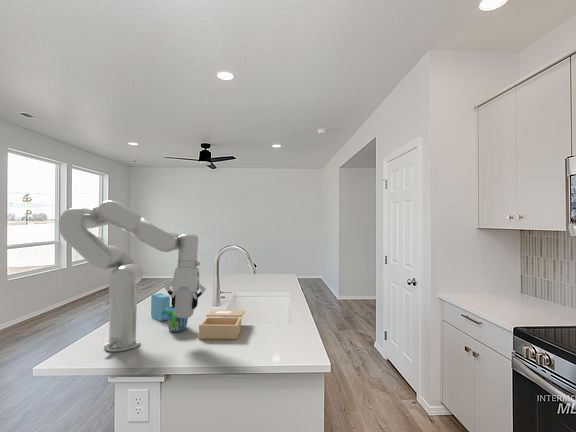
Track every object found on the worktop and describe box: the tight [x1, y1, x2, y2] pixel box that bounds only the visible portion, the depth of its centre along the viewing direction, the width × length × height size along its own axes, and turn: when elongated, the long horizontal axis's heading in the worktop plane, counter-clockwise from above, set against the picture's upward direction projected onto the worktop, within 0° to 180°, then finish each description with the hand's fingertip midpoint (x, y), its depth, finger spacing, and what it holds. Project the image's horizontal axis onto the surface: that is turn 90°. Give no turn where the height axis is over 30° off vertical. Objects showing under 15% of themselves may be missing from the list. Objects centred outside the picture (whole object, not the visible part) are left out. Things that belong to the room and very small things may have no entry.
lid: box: [206, 309, 246, 318], centre depth 156 cm, size 12×16×1 cm
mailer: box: [198, 316, 242, 341], centre depth 143 cm, size 12×16×6 cm
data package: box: [150, 292, 171, 322], centre depth 167 cm, size 12×4×12 cm, turn 46°
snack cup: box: [166, 305, 189, 333], centre depth 149 cm, size 16×10×10 cm
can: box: [174, 288, 195, 319], centre depth 133 cm, size 8×8×12 cm
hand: (184, 307), depth 133 cm, fingers closed on can, 7 cm apart
